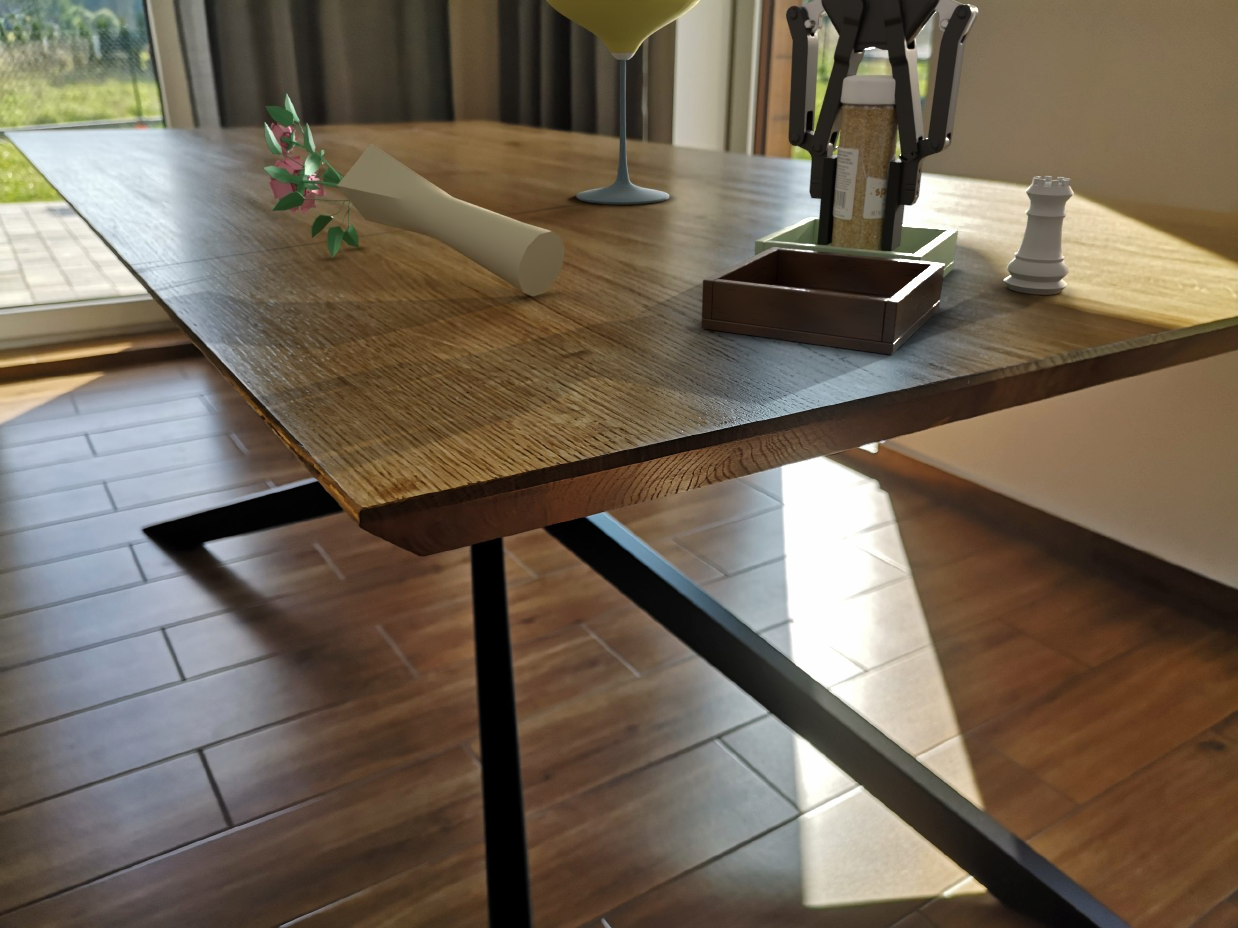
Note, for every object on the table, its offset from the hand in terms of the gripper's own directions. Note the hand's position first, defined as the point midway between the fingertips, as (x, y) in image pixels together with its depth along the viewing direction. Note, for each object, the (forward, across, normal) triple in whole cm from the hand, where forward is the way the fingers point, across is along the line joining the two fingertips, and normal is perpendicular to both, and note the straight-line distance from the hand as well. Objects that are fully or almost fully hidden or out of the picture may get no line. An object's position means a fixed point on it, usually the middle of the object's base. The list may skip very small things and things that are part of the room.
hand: (858, 244), depth 80 cm
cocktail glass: (+3, -36, +28) cm, 46 cm away
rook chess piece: (+3, +13, +2) cm, 13 cm away
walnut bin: (+2, +2, -14) cm, 14 cm away
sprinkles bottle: (+1, 0, 0) cm, 1 cm away
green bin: (+2, 0, 0) cm, 2 cm away
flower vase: (+3, -35, -14) cm, 38 cm away
